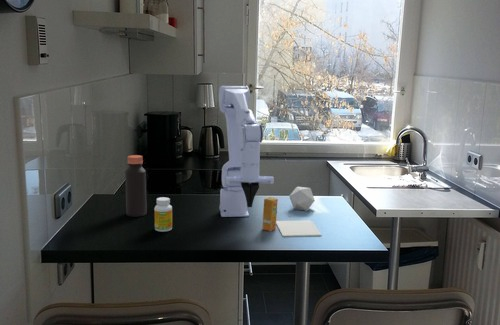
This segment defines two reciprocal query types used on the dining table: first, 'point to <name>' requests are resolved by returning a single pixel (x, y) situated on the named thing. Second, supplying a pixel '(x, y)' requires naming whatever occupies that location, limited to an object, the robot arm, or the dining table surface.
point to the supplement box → (269, 214)
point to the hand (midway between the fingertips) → (249, 206)
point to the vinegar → (135, 187)
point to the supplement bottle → (163, 215)
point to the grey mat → (298, 228)
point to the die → (302, 198)
